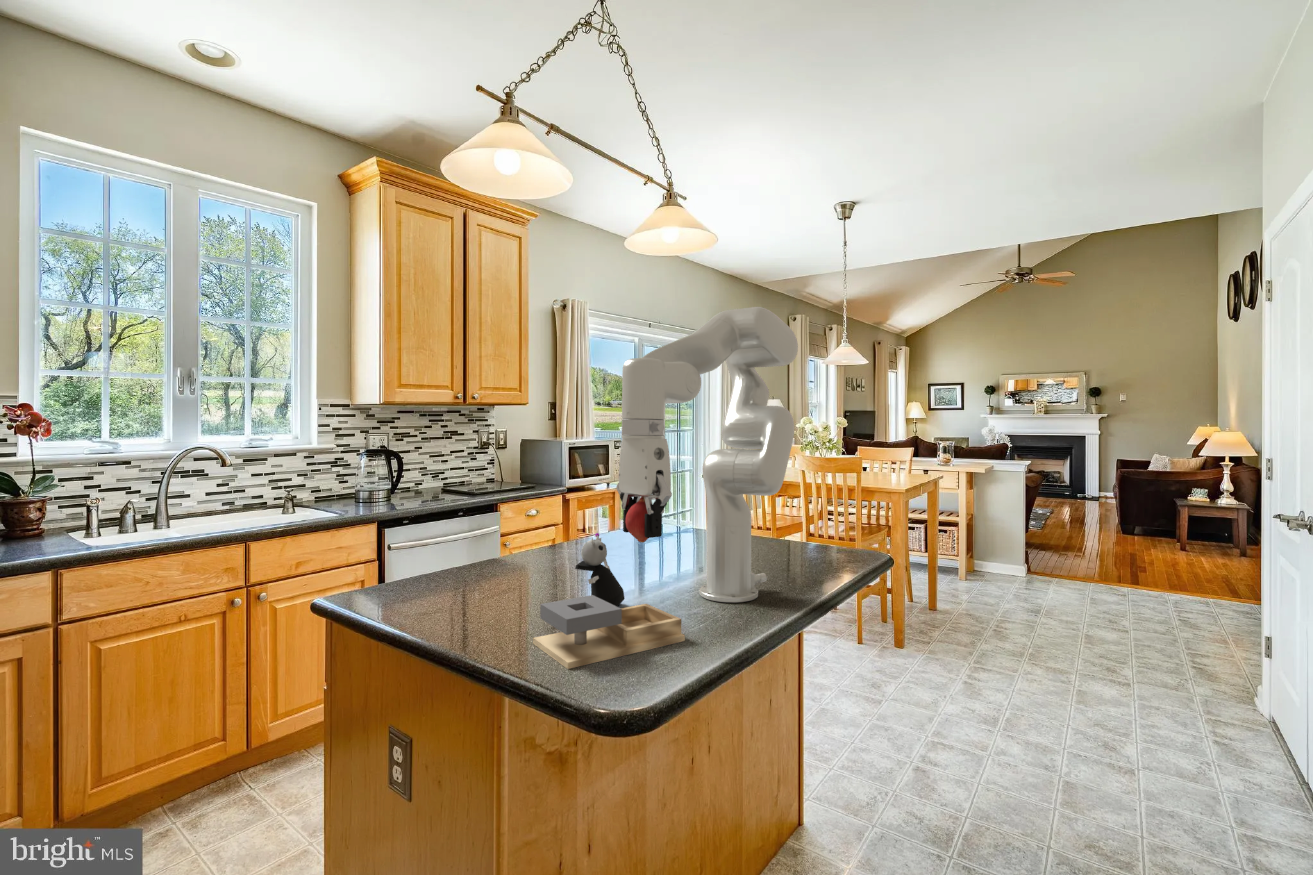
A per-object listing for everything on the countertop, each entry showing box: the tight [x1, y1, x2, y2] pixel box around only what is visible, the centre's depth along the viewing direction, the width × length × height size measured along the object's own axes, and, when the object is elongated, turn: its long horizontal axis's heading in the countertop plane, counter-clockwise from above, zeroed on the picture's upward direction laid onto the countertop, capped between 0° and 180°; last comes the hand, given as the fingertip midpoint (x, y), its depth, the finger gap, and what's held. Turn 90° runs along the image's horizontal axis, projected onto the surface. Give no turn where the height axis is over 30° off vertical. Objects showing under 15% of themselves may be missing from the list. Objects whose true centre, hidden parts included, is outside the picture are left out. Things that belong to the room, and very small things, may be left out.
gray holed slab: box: [539, 594, 622, 635], centre depth 102 cm, size 10×10×2 cm
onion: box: [625, 496, 649, 543], centre depth 107 cm, size 6×6×8 cm
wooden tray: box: [532, 603, 686, 670], centre depth 105 cm, size 22×13×6 cm, turn 124°
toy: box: [574, 533, 625, 607], centre depth 123 cm, size 12×7×15 cm, turn 168°
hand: (642, 533), depth 107 cm, fingers closed on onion, 5 cm apart
